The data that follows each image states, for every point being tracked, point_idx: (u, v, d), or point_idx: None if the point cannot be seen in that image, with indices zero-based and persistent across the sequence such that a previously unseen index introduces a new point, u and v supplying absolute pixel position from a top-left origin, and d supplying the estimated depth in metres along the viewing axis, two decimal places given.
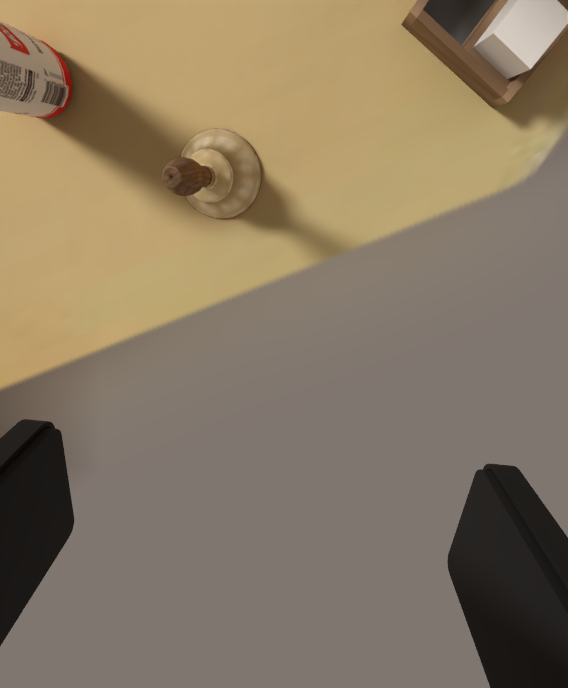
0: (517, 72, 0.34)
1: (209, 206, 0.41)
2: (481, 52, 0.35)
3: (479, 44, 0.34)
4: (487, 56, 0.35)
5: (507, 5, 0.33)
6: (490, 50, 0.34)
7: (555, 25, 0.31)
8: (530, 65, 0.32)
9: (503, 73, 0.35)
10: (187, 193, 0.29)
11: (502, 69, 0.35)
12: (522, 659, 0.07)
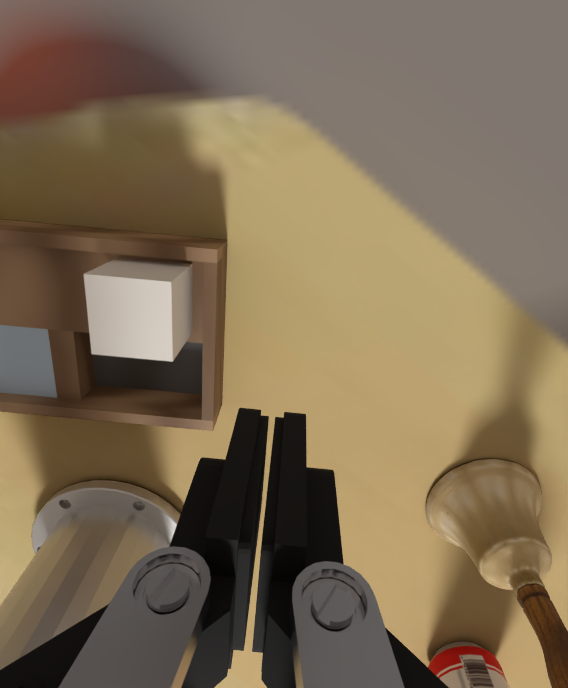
0: (181, 276, 0.21)
1: None
2: (190, 321, 0.24)
3: (187, 337, 0.23)
4: (189, 313, 0.23)
5: None
6: (184, 326, 0.22)
7: (108, 289, 0.19)
8: (167, 285, 0.19)
9: (190, 276, 0.23)
10: None
11: (189, 285, 0.22)
12: None
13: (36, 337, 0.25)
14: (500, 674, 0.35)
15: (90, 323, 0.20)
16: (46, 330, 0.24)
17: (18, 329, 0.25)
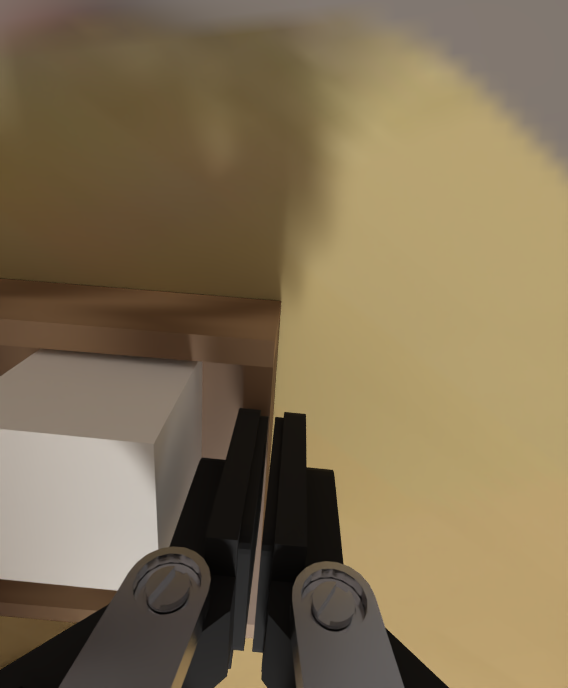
0: (180, 400, 0.09)
1: None
2: (198, 457, 0.12)
3: None
4: (197, 447, 0.12)
5: None
6: (185, 485, 0.11)
7: None
8: (145, 451, 0.08)
9: (199, 379, 0.11)
10: None
11: (196, 399, 0.11)
12: None
13: None
14: None
15: None
16: None
17: None
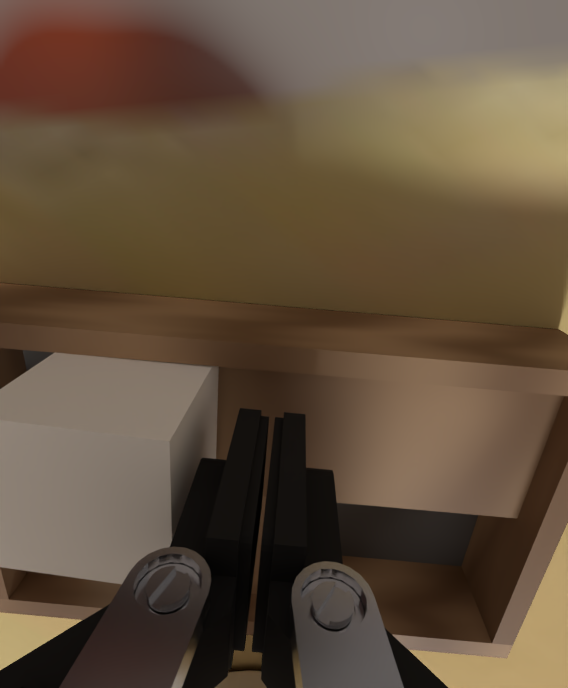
0: (197, 400, 0.10)
1: None
2: (213, 458, 0.12)
3: None
4: (212, 447, 0.12)
5: None
6: None
7: (22, 449, 0.08)
8: (161, 448, 0.08)
9: (215, 380, 0.11)
10: None
11: (211, 399, 0.11)
12: None
13: None
14: None
15: None
16: None
17: None
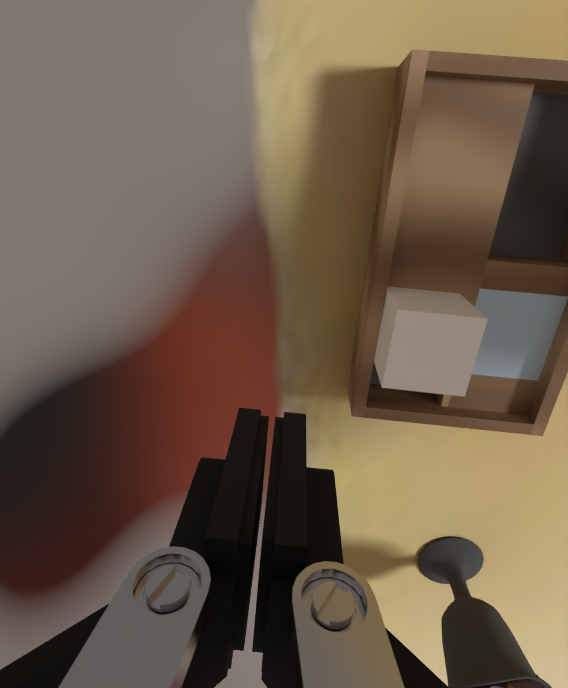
0: (394, 298, 0.20)
1: None
2: (446, 293, 0.22)
3: (464, 299, 0.21)
4: (437, 294, 0.22)
5: None
6: (449, 301, 0.21)
7: (399, 369, 0.20)
8: (401, 313, 0.19)
9: (397, 288, 0.22)
10: None
11: (405, 291, 0.22)
12: None
13: (487, 303, 0.22)
14: None
15: (431, 391, 0.20)
16: (481, 290, 0.22)
17: None
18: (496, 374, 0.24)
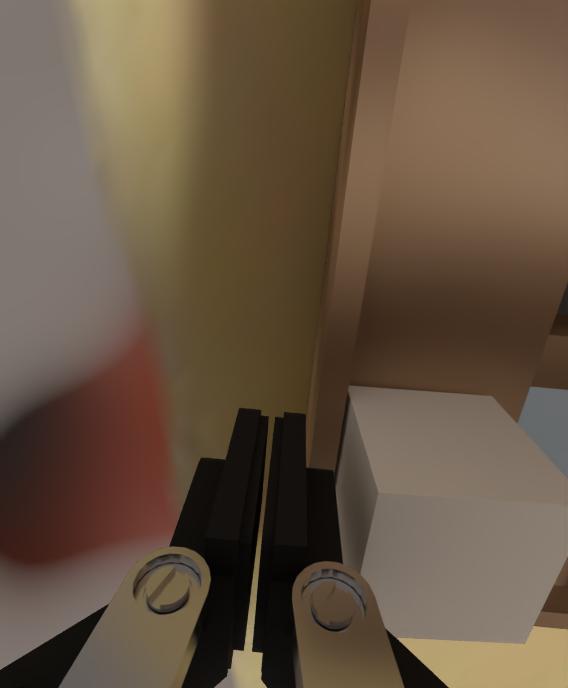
0: (369, 433, 0.09)
1: None
2: (469, 400, 0.11)
3: (508, 418, 0.10)
4: (451, 403, 0.11)
5: None
6: (484, 431, 0.10)
7: (383, 602, 0.09)
8: (387, 500, 0.08)
9: (372, 392, 0.11)
10: None
11: (390, 401, 0.11)
12: None
13: (543, 412, 0.12)
14: None
15: (454, 638, 0.09)
16: (532, 389, 0.11)
17: None
18: None
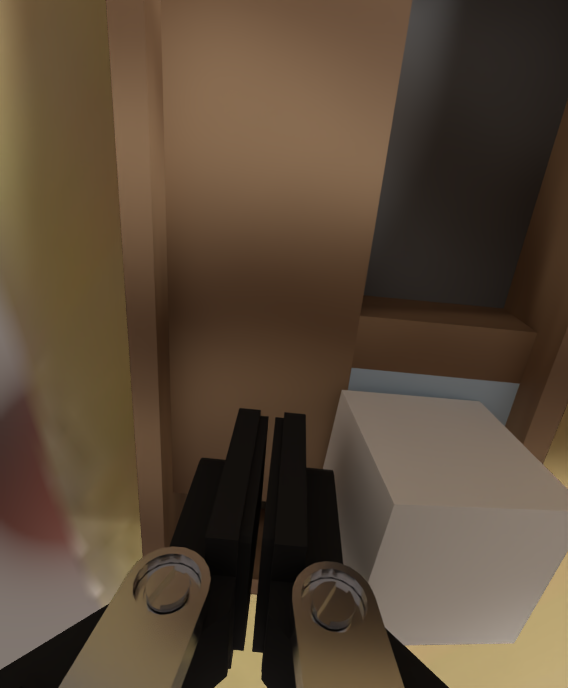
0: (373, 440, 0.09)
1: None
2: (459, 405, 0.11)
3: (499, 424, 0.11)
4: (444, 408, 0.11)
5: None
6: (479, 437, 0.10)
7: (386, 612, 0.09)
8: (402, 511, 0.07)
9: (368, 397, 0.11)
10: None
11: (386, 407, 0.11)
12: None
13: None
14: None
15: (450, 642, 0.09)
16: (354, 370, 0.11)
17: None
18: None
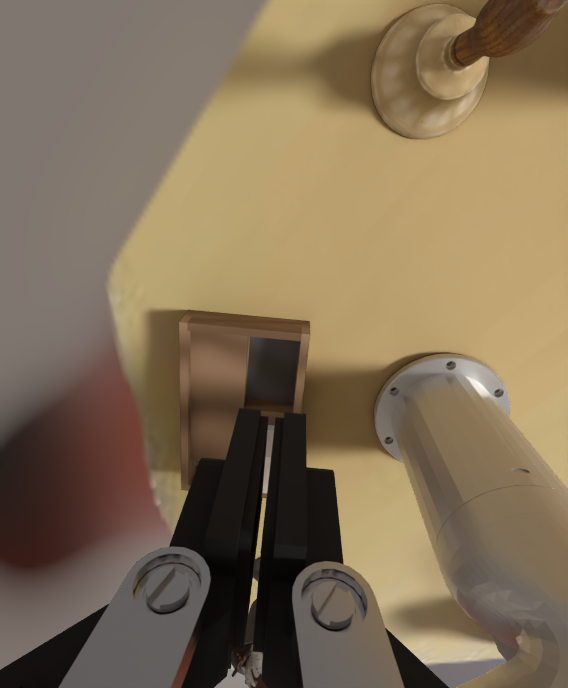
0: None
1: (431, 18, 0.27)
2: (272, 432, 0.40)
3: None
4: None
5: None
6: (268, 441, 0.38)
7: None
8: None
9: None
10: None
11: None
12: None
13: None
14: None
15: None
16: None
17: None
18: None
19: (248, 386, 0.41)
